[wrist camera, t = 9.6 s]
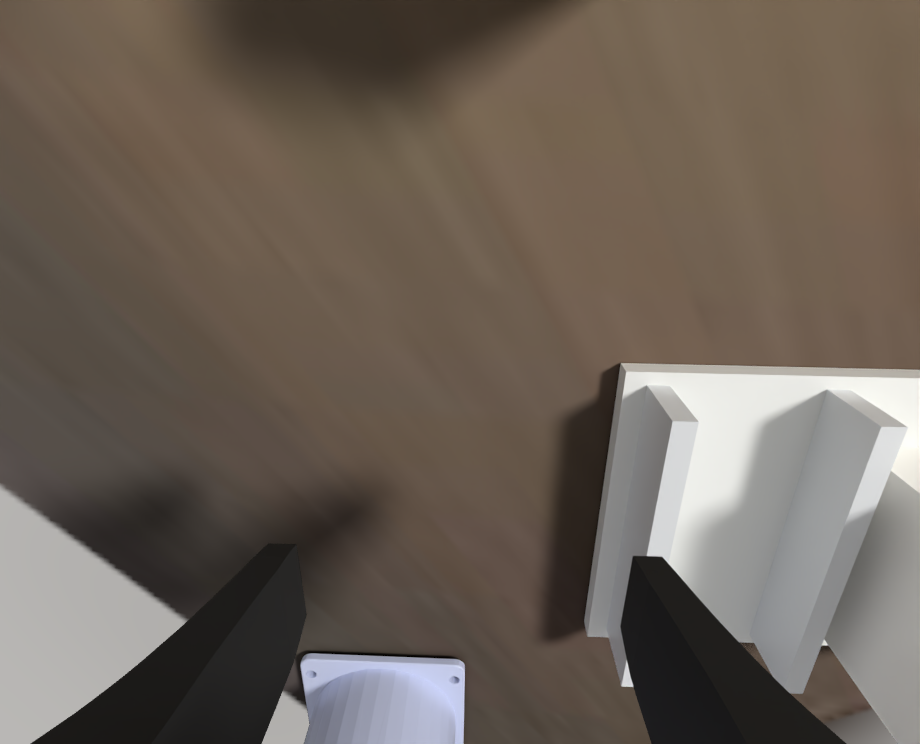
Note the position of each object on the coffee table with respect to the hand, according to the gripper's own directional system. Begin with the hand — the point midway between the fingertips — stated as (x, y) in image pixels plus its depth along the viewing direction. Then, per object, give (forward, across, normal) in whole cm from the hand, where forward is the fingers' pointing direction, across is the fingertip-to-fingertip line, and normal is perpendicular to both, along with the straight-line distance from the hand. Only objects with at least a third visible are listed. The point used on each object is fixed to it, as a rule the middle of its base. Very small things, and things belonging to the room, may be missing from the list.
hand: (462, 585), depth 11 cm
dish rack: (+9, -13, +5) cm, 17 cm away
